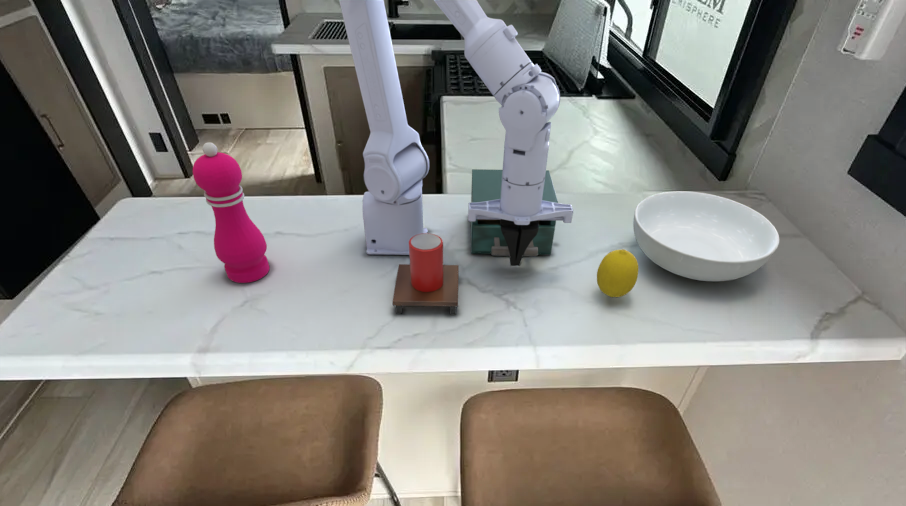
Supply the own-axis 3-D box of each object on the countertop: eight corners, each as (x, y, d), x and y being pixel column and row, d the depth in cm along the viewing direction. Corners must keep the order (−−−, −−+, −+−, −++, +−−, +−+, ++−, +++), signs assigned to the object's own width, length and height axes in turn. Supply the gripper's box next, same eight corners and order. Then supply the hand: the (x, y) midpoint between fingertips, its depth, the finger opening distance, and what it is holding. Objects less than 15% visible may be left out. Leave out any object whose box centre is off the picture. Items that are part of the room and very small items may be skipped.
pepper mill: (282, 265, 80) (249, 137, 67) (250, 290, 75) (208, 158, 62) (246, 254, 83) (207, 128, 69) (213, 277, 78) (164, 147, 64)
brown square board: (393, 315, 72) (392, 301, 70) (399, 277, 78) (398, 264, 77) (457, 316, 71) (458, 302, 70) (458, 278, 78) (458, 264, 76)
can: (409, 291, 71) (407, 250, 67) (412, 272, 75) (410, 232, 70) (442, 292, 71) (442, 250, 67) (443, 273, 75) (443, 232, 70)
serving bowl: (664, 308, 73) (679, 267, 69) (604, 233, 88) (612, 196, 84) (791, 290, 76) (813, 251, 72) (712, 221, 92) (726, 185, 87)
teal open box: (471, 253, 83) (472, 203, 77) (470, 217, 92) (472, 169, 86) (550, 254, 83) (558, 204, 77) (542, 218, 92) (549, 170, 86)
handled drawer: (472, 265, 79) (473, 240, 76) (471, 215, 91) (472, 192, 88) (554, 266, 79) (558, 241, 76) (542, 216, 91) (546, 193, 88)
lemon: (632, 289, 76) (645, 243, 71) (628, 311, 72) (643, 264, 67) (594, 282, 78) (605, 236, 72) (589, 303, 74) (600, 256, 68)
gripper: (469, 188, 65) (466, 276, 74) (582, 190, 65) (566, 278, 74) (469, 166, 71) (467, 250, 80) (574, 167, 71) (560, 252, 80)
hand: (514, 262), depth 77 cm, fingers closed, pressing on handled drawer
